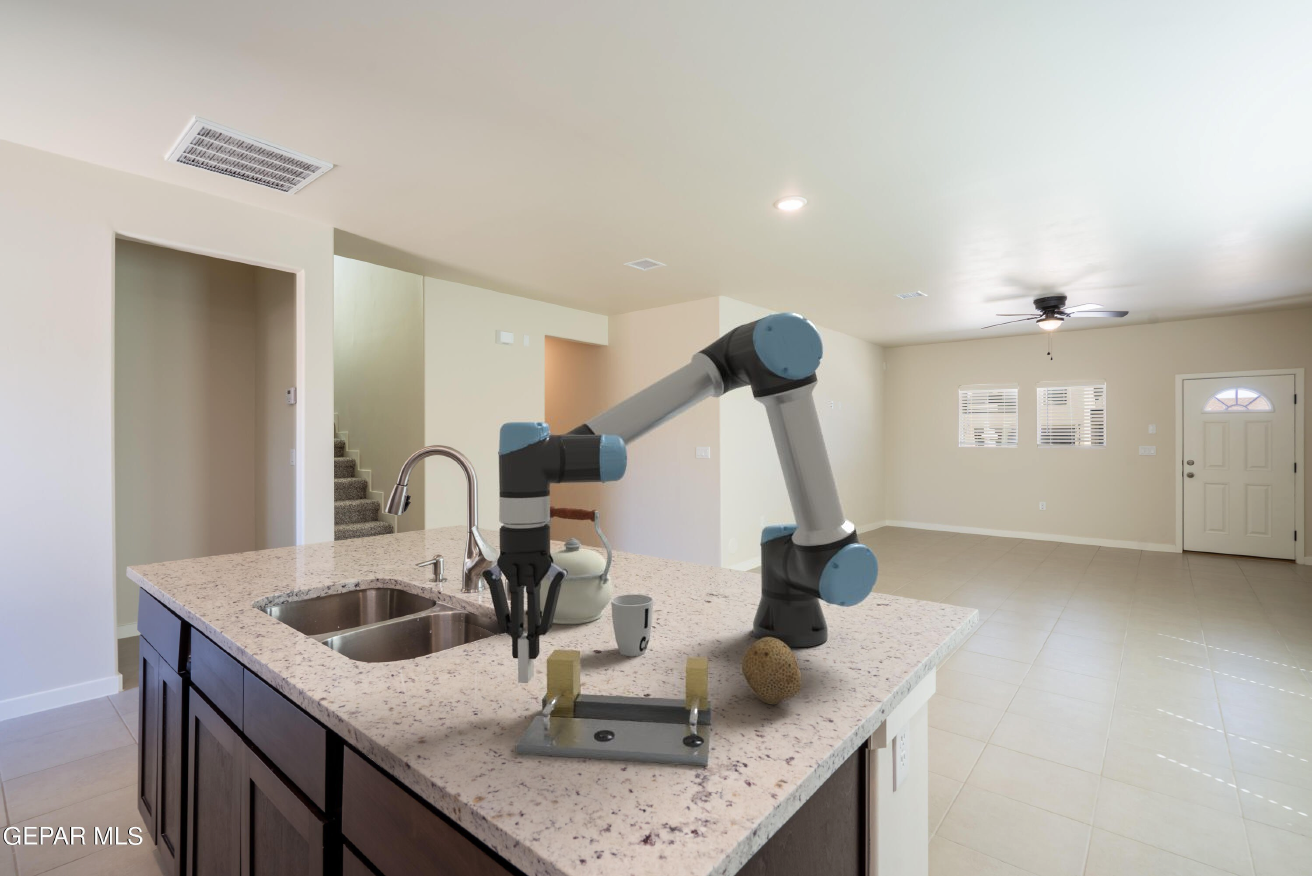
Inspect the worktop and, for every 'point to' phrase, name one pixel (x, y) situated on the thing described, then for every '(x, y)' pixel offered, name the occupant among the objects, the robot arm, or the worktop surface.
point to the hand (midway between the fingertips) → (526, 679)
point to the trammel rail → (654, 703)
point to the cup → (632, 623)
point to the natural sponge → (771, 670)
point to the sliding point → (561, 684)
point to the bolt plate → (616, 740)
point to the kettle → (579, 575)
